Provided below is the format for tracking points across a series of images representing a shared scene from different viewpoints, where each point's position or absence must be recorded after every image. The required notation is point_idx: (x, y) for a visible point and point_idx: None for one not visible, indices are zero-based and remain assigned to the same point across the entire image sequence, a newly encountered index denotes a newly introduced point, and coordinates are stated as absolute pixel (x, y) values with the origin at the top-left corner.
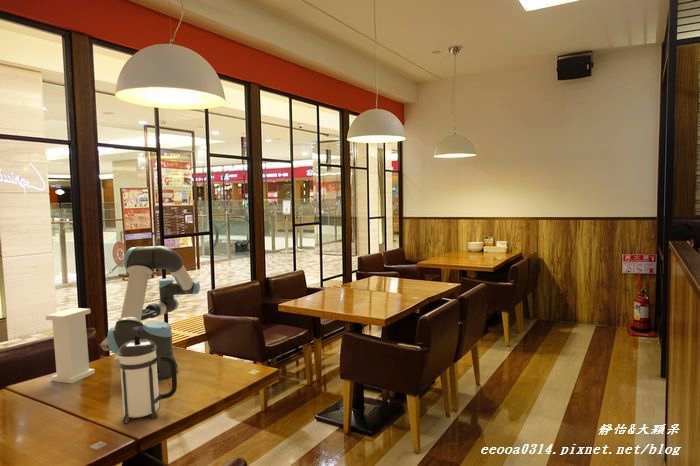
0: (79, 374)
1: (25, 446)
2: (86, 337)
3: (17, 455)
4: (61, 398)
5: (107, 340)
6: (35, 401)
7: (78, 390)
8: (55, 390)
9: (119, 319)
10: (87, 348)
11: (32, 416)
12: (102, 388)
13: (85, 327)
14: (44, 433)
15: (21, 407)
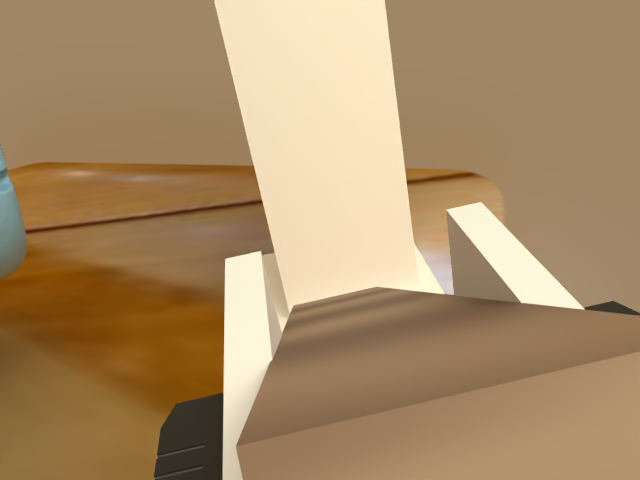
0: (280, 281)
1: (36, 175)
2: (238, 100)
3: (26, 169)
4: (167, 234)
5: (330, 299)
6: (242, 200)
7: (161, 271)
8: (266, 236)
9: (449, 235)
10: (258, 184)
11: (149, 189)
12: (57, 317)
13: (218, 14)
14: (34, 193)
15: (243, 182)
